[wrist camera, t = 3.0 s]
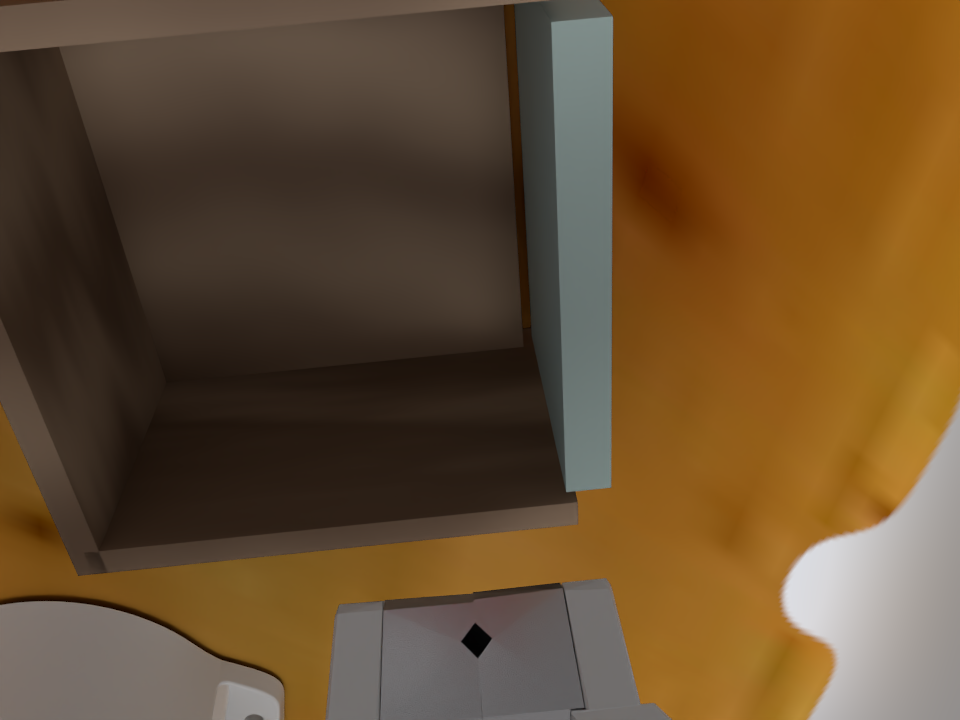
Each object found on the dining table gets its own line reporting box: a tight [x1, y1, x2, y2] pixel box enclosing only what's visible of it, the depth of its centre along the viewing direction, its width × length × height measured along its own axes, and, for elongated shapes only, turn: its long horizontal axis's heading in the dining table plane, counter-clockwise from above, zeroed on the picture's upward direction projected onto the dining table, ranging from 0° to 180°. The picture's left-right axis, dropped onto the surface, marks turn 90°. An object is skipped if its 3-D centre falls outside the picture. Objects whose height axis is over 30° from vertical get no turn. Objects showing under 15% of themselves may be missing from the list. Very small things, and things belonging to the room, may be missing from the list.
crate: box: [0, 0, 578, 576], centre depth 25 cm, size 14×14×9 cm
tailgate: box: [514, 0, 613, 492], centre depth 24 cm, size 12×1×8 cm, turn 4°
